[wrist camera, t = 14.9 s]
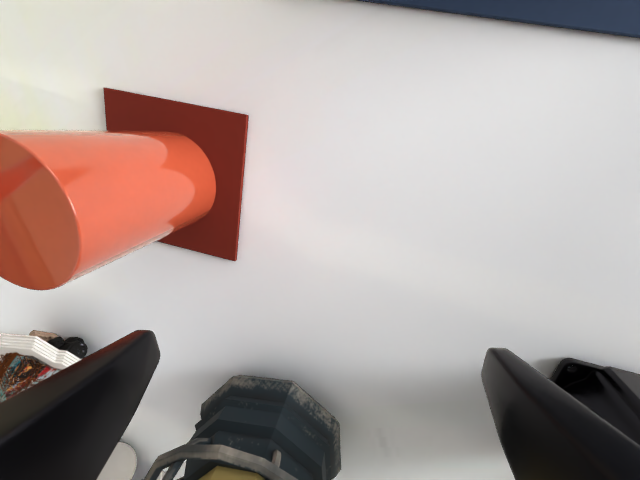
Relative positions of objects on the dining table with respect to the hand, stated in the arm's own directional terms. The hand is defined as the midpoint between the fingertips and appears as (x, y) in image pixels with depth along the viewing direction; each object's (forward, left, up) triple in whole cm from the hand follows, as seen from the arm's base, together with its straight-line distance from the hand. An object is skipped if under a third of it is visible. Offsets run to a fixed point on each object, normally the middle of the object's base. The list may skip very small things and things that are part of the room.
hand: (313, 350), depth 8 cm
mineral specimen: (-19, +23, -13) cm, 32 cm away
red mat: (0, +13, -13) cm, 18 cm away
